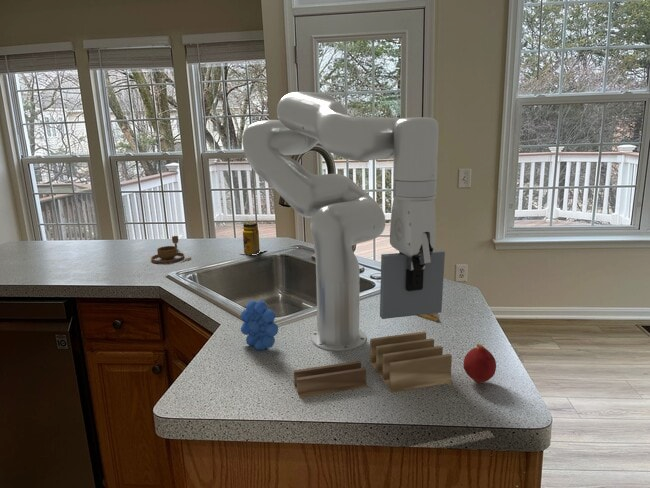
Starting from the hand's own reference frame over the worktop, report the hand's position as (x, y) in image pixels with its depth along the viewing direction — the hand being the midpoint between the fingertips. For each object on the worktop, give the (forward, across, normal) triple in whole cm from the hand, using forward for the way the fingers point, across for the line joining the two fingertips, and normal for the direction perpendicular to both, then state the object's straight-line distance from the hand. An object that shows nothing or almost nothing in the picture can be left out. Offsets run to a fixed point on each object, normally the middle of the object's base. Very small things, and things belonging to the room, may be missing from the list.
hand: (411, 287), depth 86 cm
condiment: (+18, -101, -19) cm, 105 cm away
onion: (+18, +6, +11) cm, 22 cm away
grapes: (+18, -19, -26) cm, 37 cm away
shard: (+19, -28, +18) cm, 38 cm away
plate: (+5, 0, 0) cm, 5 cm away
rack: (+18, 0, 0) cm, 18 cm away
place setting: (+18, -105, -49) cm, 118 cm away
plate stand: (+18, 0, -16) cm, 24 cm away
